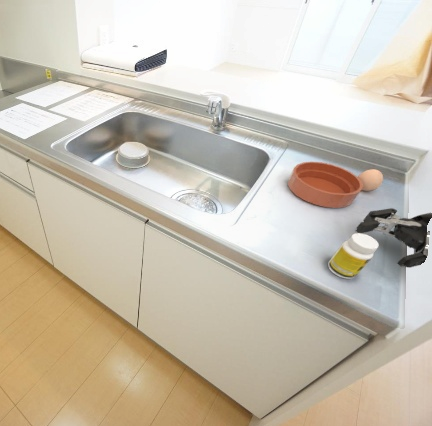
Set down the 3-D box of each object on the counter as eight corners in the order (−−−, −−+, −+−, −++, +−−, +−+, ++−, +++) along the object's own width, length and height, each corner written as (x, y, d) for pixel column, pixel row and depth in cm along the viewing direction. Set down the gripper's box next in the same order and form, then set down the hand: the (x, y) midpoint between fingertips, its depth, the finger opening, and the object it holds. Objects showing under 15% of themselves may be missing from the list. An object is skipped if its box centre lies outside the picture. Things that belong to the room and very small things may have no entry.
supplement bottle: (354, 283, 53) (381, 254, 48) (325, 271, 55) (347, 242, 50) (356, 267, 56) (382, 238, 50) (329, 256, 58) (350, 227, 53)
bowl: (360, 190, 75) (369, 176, 72) (342, 217, 67) (352, 203, 64) (299, 169, 83) (306, 156, 80) (277, 191, 75) (284, 177, 72)
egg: (373, 186, 76) (387, 168, 72) (376, 196, 72) (390, 177, 69) (351, 181, 78) (363, 163, 74) (352, 191, 74) (365, 172, 70)
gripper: (422, 192, 58) (356, 205, 55) (510, 241, 47) (434, 260, 45) (398, 219, 63) (337, 232, 60) (473, 269, 52) (403, 287, 50)
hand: (379, 244), depth 52 cm, fingers open, 8 cm apart
